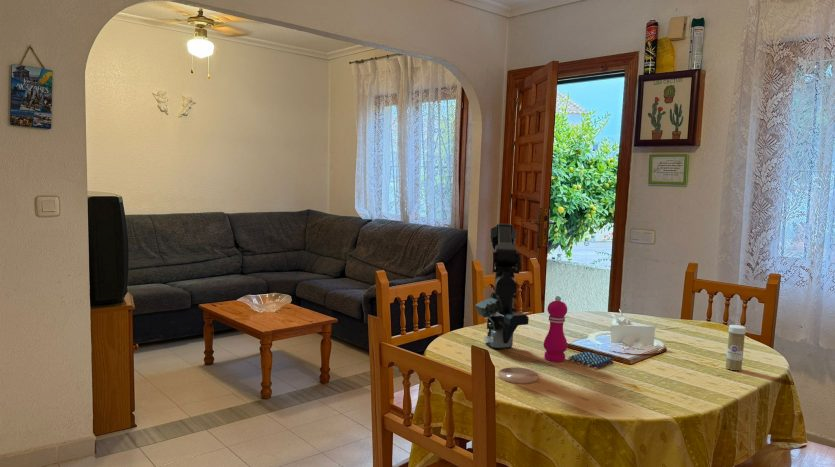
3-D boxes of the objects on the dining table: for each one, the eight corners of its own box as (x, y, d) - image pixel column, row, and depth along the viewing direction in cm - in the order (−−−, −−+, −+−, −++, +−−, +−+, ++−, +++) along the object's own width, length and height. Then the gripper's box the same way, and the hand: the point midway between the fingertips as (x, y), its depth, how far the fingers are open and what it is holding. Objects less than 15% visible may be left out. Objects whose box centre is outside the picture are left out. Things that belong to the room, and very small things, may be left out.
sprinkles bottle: (726, 370, 180) (729, 327, 178) (724, 365, 184) (728, 323, 183) (743, 372, 178) (747, 328, 177) (741, 368, 182) (745, 325, 181)
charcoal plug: (507, 342, 182) (508, 328, 181) (515, 346, 178) (515, 331, 177) (482, 345, 178) (482, 330, 177) (489, 349, 174) (489, 334, 174)
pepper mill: (567, 357, 188) (571, 295, 186) (565, 363, 181) (569, 299, 179) (544, 354, 190) (547, 292, 188) (541, 360, 184) (544, 297, 181)
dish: (584, 349, 198) (586, 316, 197) (591, 331, 221) (593, 301, 220) (663, 360, 189) (666, 325, 188) (663, 339, 212) (665, 308, 211)
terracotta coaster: (523, 368, 176) (523, 365, 176) (545, 381, 166) (545, 378, 166) (491, 372, 171) (491, 369, 171) (512, 385, 162) (512, 382, 161)
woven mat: (583, 356, 191) (584, 349, 191) (614, 364, 184) (614, 358, 184) (566, 362, 184) (566, 356, 184) (597, 371, 177) (597, 365, 176)
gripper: (465, 285, 182) (463, 335, 183) (497, 298, 165) (494, 353, 166) (496, 283, 186) (494, 332, 188) (530, 296, 169) (528, 349, 171)
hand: (501, 341), depth 178 cm, fingers closed on charcoal plug, 4 cm apart
